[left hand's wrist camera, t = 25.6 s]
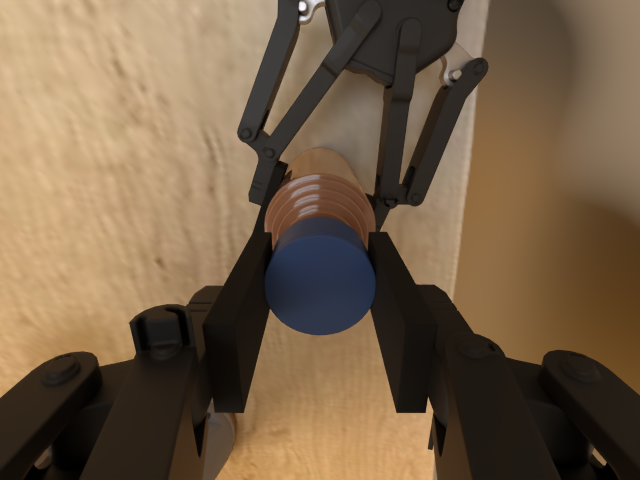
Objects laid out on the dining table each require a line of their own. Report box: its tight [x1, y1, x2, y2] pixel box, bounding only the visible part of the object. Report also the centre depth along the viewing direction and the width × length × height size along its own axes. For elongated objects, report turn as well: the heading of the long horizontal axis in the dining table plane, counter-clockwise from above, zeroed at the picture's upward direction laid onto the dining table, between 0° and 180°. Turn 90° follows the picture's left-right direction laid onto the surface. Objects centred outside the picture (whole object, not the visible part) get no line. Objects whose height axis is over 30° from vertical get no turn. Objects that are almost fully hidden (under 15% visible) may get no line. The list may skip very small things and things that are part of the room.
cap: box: [264, 217, 376, 335], centre depth 13 cm, size 4×4×2 cm
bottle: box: [264, 148, 376, 251], centre depth 22 cm, size 6×6×19 cm
